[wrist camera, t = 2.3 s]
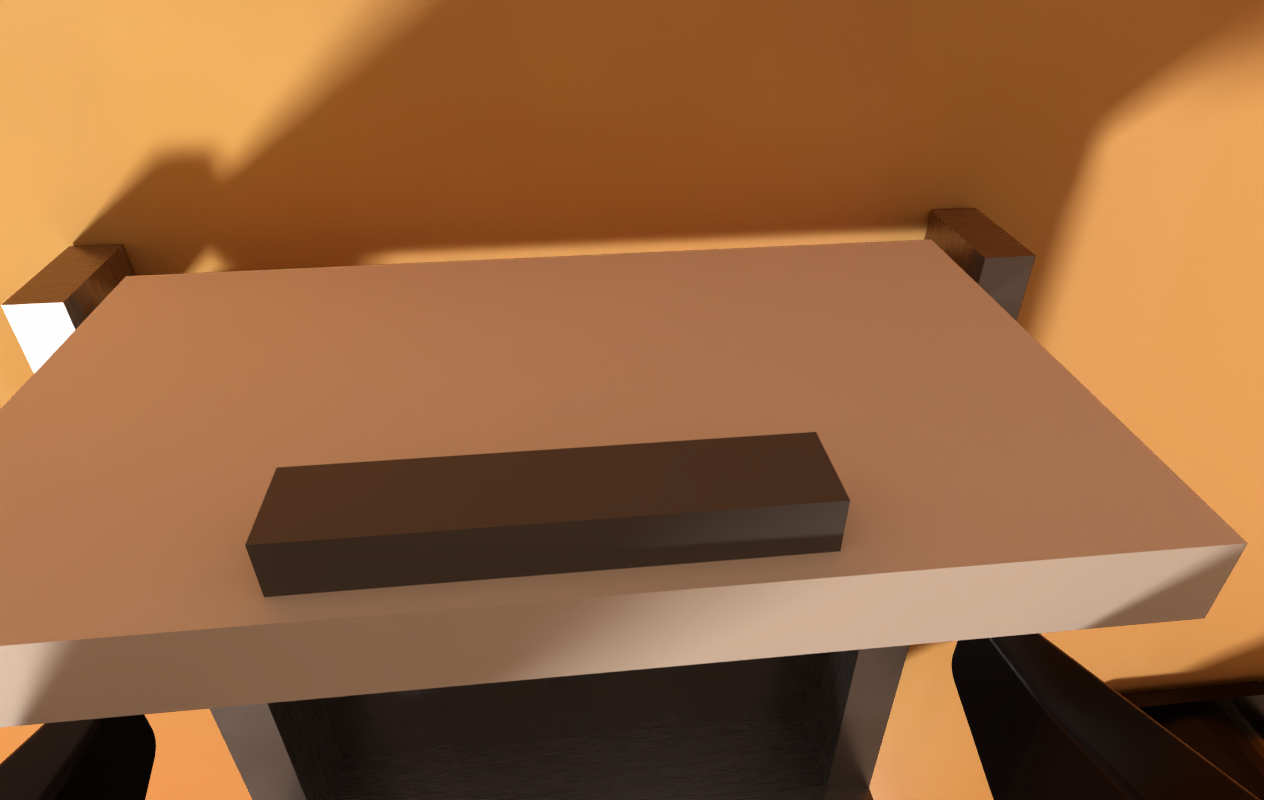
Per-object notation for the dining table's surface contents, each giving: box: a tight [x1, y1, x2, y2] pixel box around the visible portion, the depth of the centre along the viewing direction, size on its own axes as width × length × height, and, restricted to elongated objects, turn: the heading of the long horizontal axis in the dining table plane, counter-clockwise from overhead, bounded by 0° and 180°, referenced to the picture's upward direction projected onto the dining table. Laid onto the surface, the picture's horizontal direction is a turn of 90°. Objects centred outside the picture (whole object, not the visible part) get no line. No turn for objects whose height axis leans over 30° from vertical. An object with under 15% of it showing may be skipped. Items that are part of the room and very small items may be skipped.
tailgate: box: [0, 240, 1248, 727], centre depth 10 cm, size 2×12×7 cm, turn 90°
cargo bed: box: [1, 208, 1035, 800], centre depth 14 cm, size 14×15×7 cm
